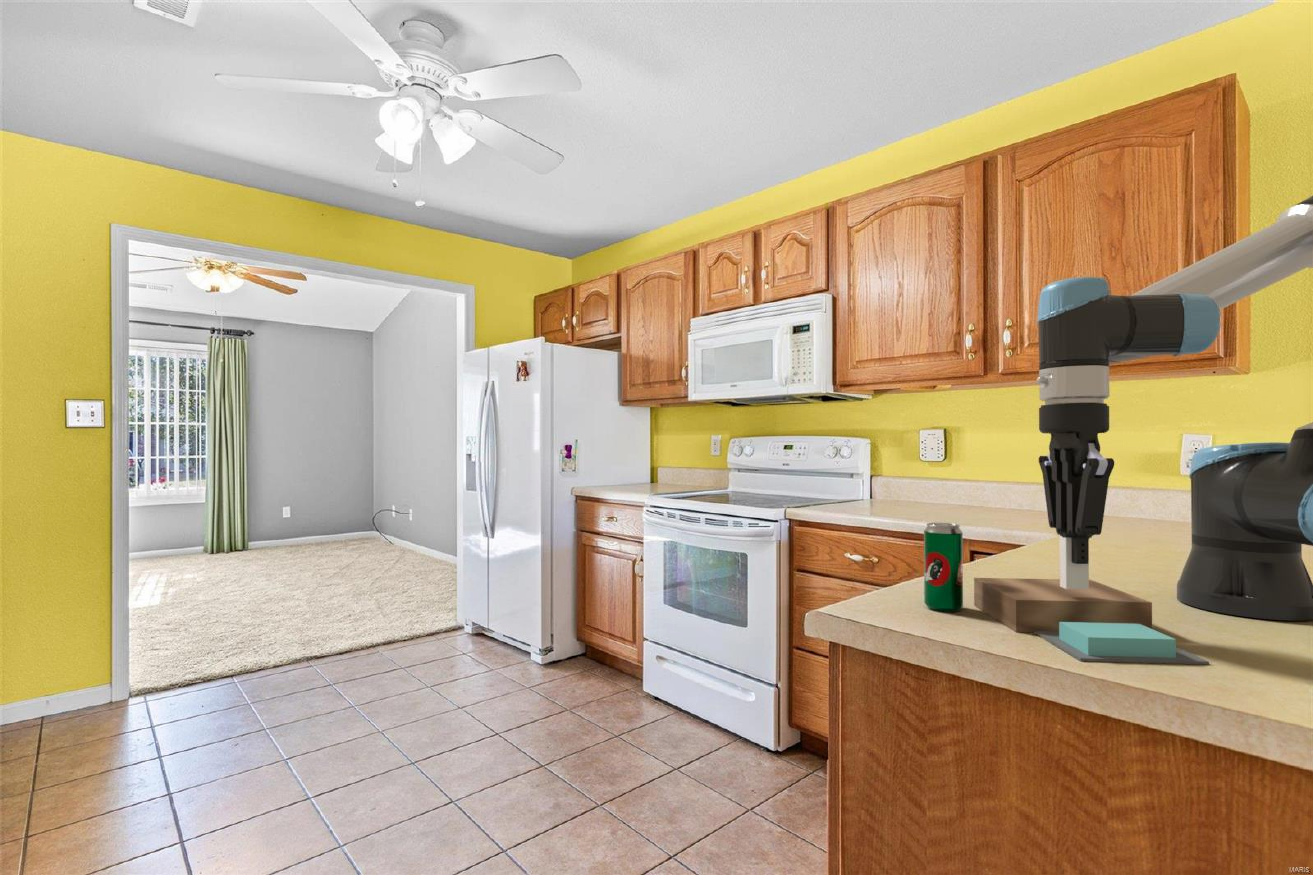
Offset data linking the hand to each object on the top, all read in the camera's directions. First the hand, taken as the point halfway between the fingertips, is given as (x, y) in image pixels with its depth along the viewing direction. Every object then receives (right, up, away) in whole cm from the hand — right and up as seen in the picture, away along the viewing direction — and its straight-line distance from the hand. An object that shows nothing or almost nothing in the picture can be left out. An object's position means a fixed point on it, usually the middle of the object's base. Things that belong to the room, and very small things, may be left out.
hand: (1074, 587), depth 82 cm
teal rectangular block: (-1, -3, -8) cm, 9 cm away
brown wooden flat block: (0, -5, +4) cm, 7 cm away
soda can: (-12, -6, +10) cm, 17 cm away
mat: (0, -5, -8) cm, 9 cm away
